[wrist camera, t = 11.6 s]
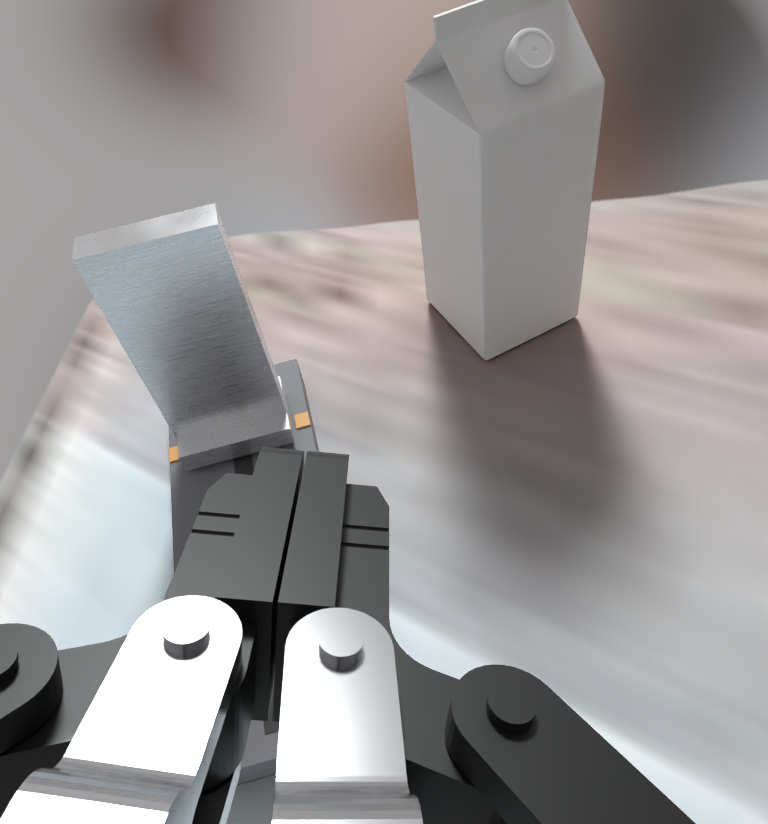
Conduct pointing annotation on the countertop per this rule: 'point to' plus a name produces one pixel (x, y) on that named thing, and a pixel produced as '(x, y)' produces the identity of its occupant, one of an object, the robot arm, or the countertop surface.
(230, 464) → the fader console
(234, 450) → the fader tab
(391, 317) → the countertop surface
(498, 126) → the milk carton
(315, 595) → the robot arm
